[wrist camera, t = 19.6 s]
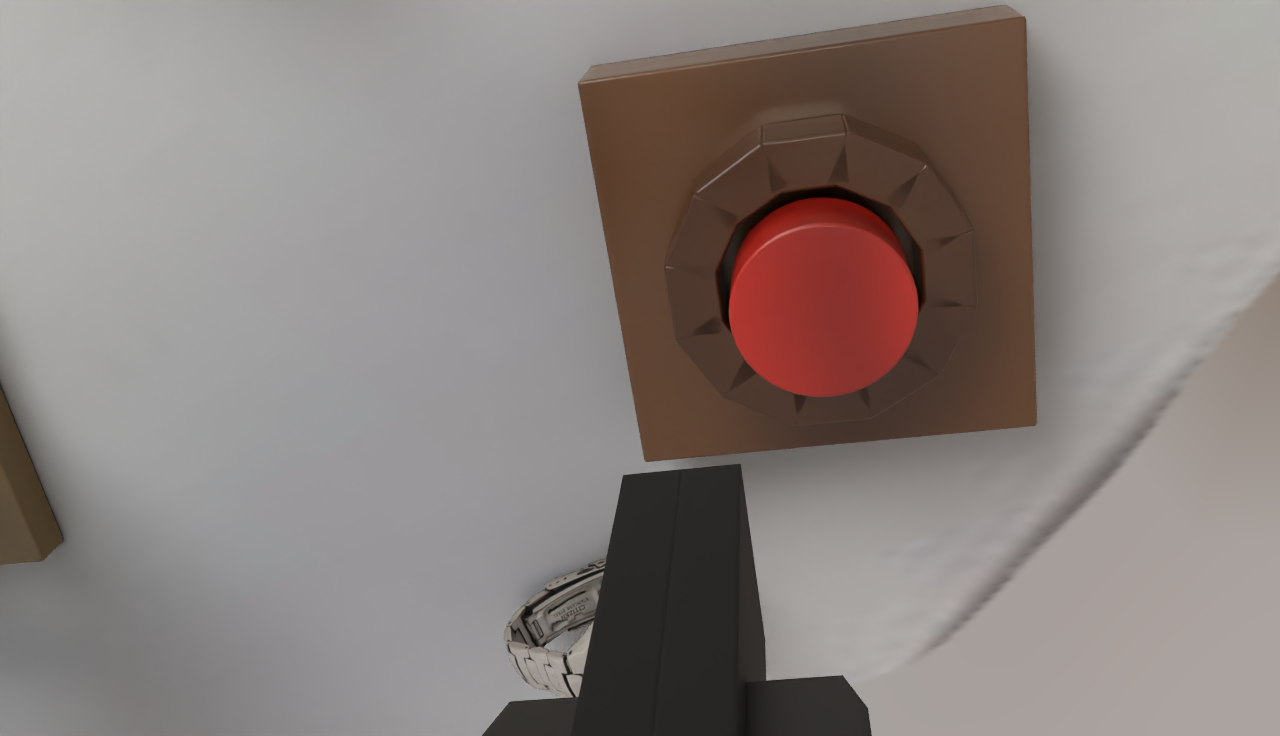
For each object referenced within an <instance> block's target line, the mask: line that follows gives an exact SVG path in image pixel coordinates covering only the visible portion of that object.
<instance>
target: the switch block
mask: <svg viewBox="0 0 1280 736" xmlns="http://www.w3.org/2000/svg"><path fill="white" fill-rule="evenodd" d="M578 89H579V94H580V100H581V106H582V111H583V117H584V123H585V128H586V134H587V139H588V145H589V151H590V156H591V162H592V168H593V173H594V179H595V185H596V190H597V196H598V201H599V207H600V213H601V218H602V224H603V230H604V235H605V241H606V246H607V252H608V258H609V263H610V269H611V275H612V280H613V286H614V292H615V297H616V303H617V308H618V314H619V320H620V325H621V331H622V337H623V342H624V348H625V353H626V359H627V365H628V370H629V376H630V382H631V387H632V393H633V398H634V404H635V410H636V415H637V421H638V427H639V432H640V438H641V444H642V449H643V455H644V459H645V461H646V462H650V461H661V460H672V459H682V458H693V457H704V456H715V455H726V454H737V453H747V452H758V451H769V450H780V449H791V448H801V447H812V446H823V445H834V444H845V443H856V442H866V441H877V440H888V439H899V438H910V437H920V436H931V435H942V434H953V433H964V432H975V431H985V430H996V429H1007V428H1018V427H1029V426H1036V424H1037V397H1036V360H1035V323H1034V287H1033V250H1032V213H1031V177H1030V140H1029V104H1028V67H1027V30H1026V18H1025V16H1023V15H1022V14H1020V13H1018V12H1017V11H1015V10H1014V9H1012V8H1011V7H1009V6H1007V5H1000V6H994V7H987V8H980V9H973V10H967V11H960V12H953V13H946V14H940V15H933V16H926V17H919V18H913V19H906V20H899V21H892V22H886V23H879V24H872V25H865V26H859V27H852V28H845V29H838V30H832V31H825V32H818V33H811V34H804V35H798V36H791V37H784V38H777V39H771V40H764V41H757V42H750V43H744V44H737V45H730V46H723V47H717V48H710V49H703V50H696V51H690V52H683V53H676V54H669V55H663V56H656V57H649V58H642V59H636V60H629V61H622V62H615V63H609V64H602V65H595V66H592V67H590V69H589V70H588V71H587V72H586V73H585V75H584V76H583V77H582V78H581V79H580V81H579V82H578ZM817 197H828V198H838V199H843V200H847V201H850V202H853V203H856V204H859V205H861V206H863V207H865V208H867V209H869V210H870V211H872V212H873V213H875V214H876V215H878V216H879V217H880V218H881V219H882V220H883V221H884V222H886V223H887V225H888V226H889V227H890V228H891V229H892V230H893V232H894V233H895V235H896V236H897V238H898V239H899V241H900V243H901V245H902V248H903V250H904V252H905V255H906V258H907V261H908V264H909V267H910V270H911V273H912V276H913V279H914V282H915V286H916V289H917V295H918V319H917V325H916V329H915V332H914V336H913V338H912V340H911V342H910V345H909V347H908V348H907V350H906V352H905V353H904V355H903V356H902V358H901V359H900V360H899V361H898V362H897V364H896V365H895V366H894V367H893V368H892V369H891V370H890V371H889V372H888V373H887V374H885V375H884V376H883V377H881V378H880V379H878V380H877V381H876V382H874V383H872V384H870V385H868V386H867V387H865V388H862V389H860V390H857V391H855V392H851V393H848V394H844V395H839V396H832V397H812V396H804V395H799V394H795V393H792V392H789V391H786V390H783V389H781V388H779V387H777V386H775V385H773V384H771V383H770V382H768V381H767V380H765V379H764V378H762V377H761V376H760V375H759V374H758V373H756V372H755V371H754V370H753V369H752V368H751V367H750V365H749V364H748V363H747V362H746V361H745V359H744V358H743V356H742V355H741V353H740V351H739V350H738V348H737V346H736V344H735V341H734V338H733V335H732V332H731V327H730V322H729V301H730V290H731V278H732V270H733V265H734V260H735V258H736V255H737V252H738V250H739V248H740V246H741V244H742V242H743V240H744V239H745V237H746V236H747V234H748V233H749V232H750V230H751V229H752V228H753V227H754V226H755V225H756V224H757V223H758V222H759V221H760V220H761V219H763V218H764V217H765V216H766V215H768V214H769V213H771V212H772V211H774V210H776V209H777V208H780V207H782V206H784V205H786V204H788V203H791V202H794V201H798V200H802V199H807V198H817Z"/></svg>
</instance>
